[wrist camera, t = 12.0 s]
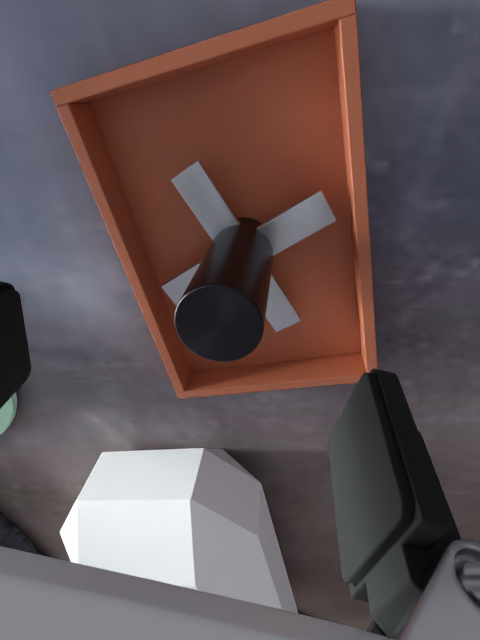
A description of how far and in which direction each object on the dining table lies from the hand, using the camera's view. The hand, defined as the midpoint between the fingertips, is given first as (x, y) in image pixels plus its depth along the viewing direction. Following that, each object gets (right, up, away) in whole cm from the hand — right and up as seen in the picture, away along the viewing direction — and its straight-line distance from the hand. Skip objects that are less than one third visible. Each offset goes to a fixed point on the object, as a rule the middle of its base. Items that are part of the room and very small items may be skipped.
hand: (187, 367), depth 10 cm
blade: (+2, +5, +9) cm, 11 cm away
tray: (+2, +6, +10) cm, 12 cm away
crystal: (-1, -18, +25) cm, 31 cm away
